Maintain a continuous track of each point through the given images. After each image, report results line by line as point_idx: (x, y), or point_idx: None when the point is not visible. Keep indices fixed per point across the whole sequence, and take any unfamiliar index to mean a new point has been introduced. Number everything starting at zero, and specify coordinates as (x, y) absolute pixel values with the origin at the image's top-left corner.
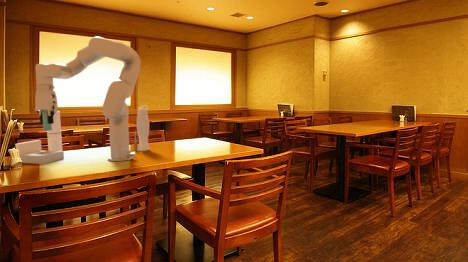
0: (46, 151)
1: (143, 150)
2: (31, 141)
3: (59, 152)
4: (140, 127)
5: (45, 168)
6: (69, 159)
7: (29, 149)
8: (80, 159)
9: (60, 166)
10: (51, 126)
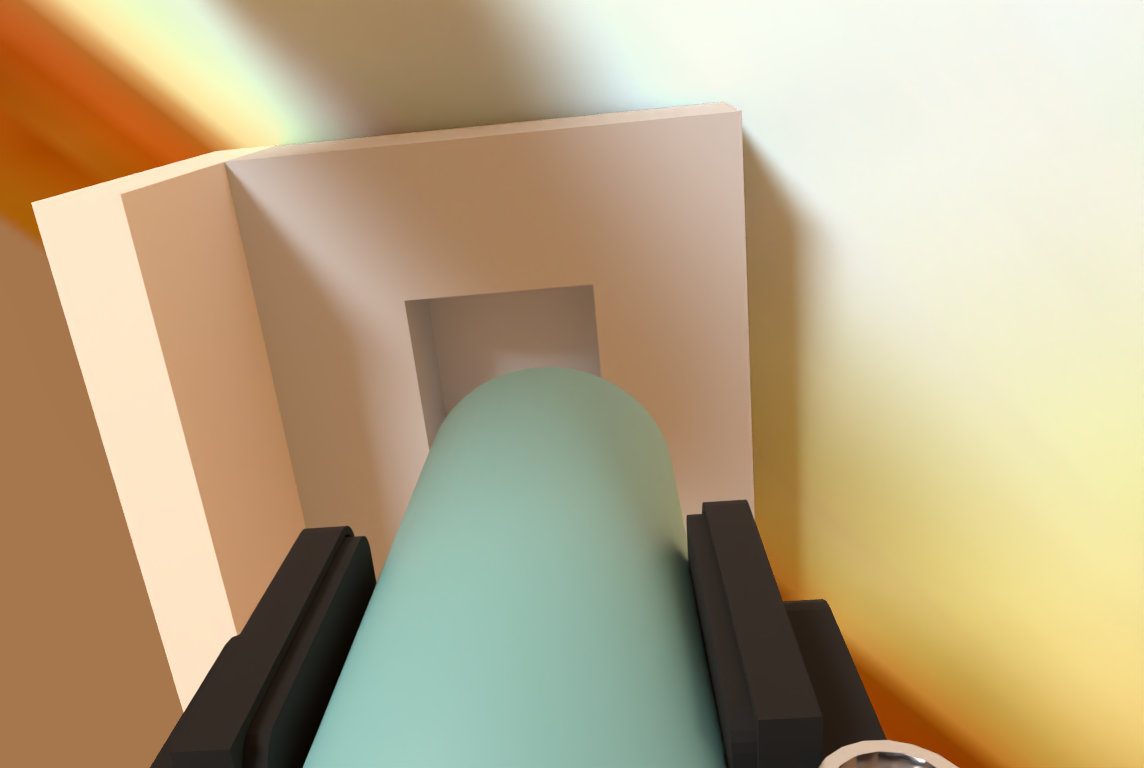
0: (444, 242)
1: None
2: (153, 430)
3: (742, 218)
4: None
5: (955, 661)
6: (853, 110)
7: (262, 450)
8: (1056, 52)
9: (1073, 538)
10: (671, 488)
